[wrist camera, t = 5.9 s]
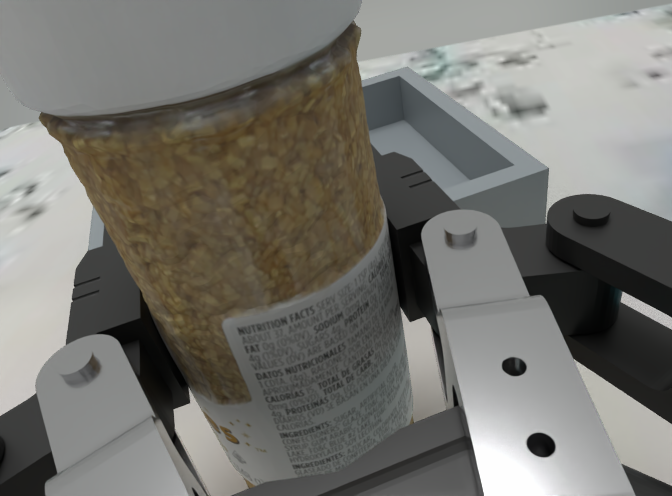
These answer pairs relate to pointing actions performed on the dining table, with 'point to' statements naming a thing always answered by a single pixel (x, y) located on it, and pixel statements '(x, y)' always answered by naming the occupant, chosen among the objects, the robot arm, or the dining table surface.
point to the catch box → (445, 151)
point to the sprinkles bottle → (235, 206)
